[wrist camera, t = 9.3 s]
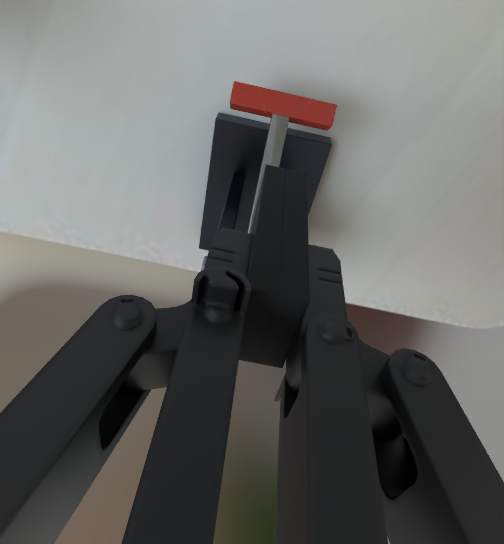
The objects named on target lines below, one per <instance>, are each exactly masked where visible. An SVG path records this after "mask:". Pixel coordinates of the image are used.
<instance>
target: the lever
mask: <svg viewBox="0 0 504 544" xmlns="http://www.w3.org/2000/svg"><path fill="white" fill-rule="evenodd" d="M336 107H337V105H335V104H331V103H326V102H322V101H318V100H313V99H309V98H305V97H301V96H296V95H292V94H288V93H283V92H279V91H275V90H270V89H266V88H262V87H257V86H253V85H249V84H244V83H240V82H236V81H234V84H233V89H232V94H231V99H230V108H231V109H234V110H239V111H243V112H248V113H252V114H256V115H261V116H265V117H269V118H271V121H270V126H269V131H268V135H267V140H266V145H265V150H264V155H263V159H262V164H261V169H260V174H259V179H258V183H257V188H256V193H255V198H254V203H253V207H252V212H251V217H250V222H249V227H248V231H247V233H251V227H252V223H253V218H254V214H255V210H256V205H257V201H258V197H259V192H260V188H261V183H262V179H263V175H264V170H265V166H266V164H267V165H272V166H276V167H279V164H280V160H281V155H282V150H283V146H284V141H285V136H286V132H287V127H288V122H291V123H296V124H300V125H305V126H309V127H313V128H318V129H322V130H328V129H329V128H330V127H332V124H333V120H334V115H335V111H336Z"/></svg>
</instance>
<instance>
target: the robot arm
mask: <svg viewBox="0 0 504 544" xmlns="http://www.w3.org/2000/svg"><path fill="white" fill-rule="evenodd" d="M341 273H342V272H341V264H340V260H339V259H338V257H337V256H336V254H335V252H334V251H333V249H328V248H323V247H319V246H314V245H309V244H308V215H307V177H306V173H303V172H299V171H294V170H290V169H285V168H281V167H276V166H272V165H267V164H266V166H265V170H264V175H263V179H262V183H261V188H260V192H259V197H258V201H257V205H256V210H255V214H254V218H253V223H252V227H251V233H247V232H243V231H238V230H233V229H228V228H224V227H223V228H221V229H220V230H219V231H218V232H217V233H216V234H215V235H214V236H213V239H212V242H211V246H210V249H209V253H208V257H207V260H206V263H205V267H204V270H202V271H201V272H199V273H198V275H197V276H196V278H195V279H194V286H193V294H192V299H191V300H190V301H189V302H187V303H186V304H183V305H180V306H178V307H172V308H161V309H160V308H159V309H155V308H154V306H153V305H152V303H151V302H149V301H147V300H146V299H144V298H143V297H138V296H134V295H121V296H118V297H115V298H112V299H109V300H108V301H107V302H105V303H104V304H103V305H101V306H100V307H99V308H98V309H97V310H96V311H95V313H94V314H93V315H92V316H91V317H90V318H89V319H88V320H87V321H86V322H85V323H84V324H83V325H82V326H81V327H80V329H79V330H78V331H77V332H76V333H75V334H74V335H73V336H72V337H71V338H70V339H69V340H68V341H67V342H66V343H65V345H64V346H63V347H62V348H61V349H60V350H59V351H58V352H57V353H56V354H55V355H54V356H53V357H52V358H51V360H50V361H49V362H48V363H47V364H46V365H45V366H44V367H43V368H42V369H41V370H40V371H39V372H38V373H37V374H36V375H35V377H34V378H33V379H32V380H31V381H30V382H29V383H28V384H27V385H26V386H25V387H24V388H23V389H22V391H20V393H19V394H18V395H17V396H16V397H15V398H14V399H13V400H12V401H11V402H10V403H9V404H8V405H7V406H6V407H5V409H4V410H3V411H2V412H1V413H0V544H54V543H55V541H56V540H57V538H58V537H59V535H60V533H61V532H62V530H63V529H64V527H65V525H66V524H67V522H68V521H69V519H70V518H71V516H72V514H73V513H74V511H75V510H76V508H77V507H78V505H79V503H80V502H81V500H82V499H83V497H84V495H85V494H86V492H87V491H88V489H89V488H90V486H91V484H92V483H93V481H94V480H95V478H96V477H97V475H98V473H99V472H100V470H101V469H102V467H103V465H104V464H105V462H106V461H107V459H108V458H109V456H110V454H111V453H112V451H113V450H114V448H115V446H116V445H117V443H118V442H119V440H120V439H121V437H122V435H123V434H124V432H125V431H126V429H127V428H128V426H129V424H130V423H131V421H132V419H133V418H134V416H135V415H136V413H137V412H138V410H139V408H140V407H141V405H142V404H143V402H144V401H145V399H146V398H147V396H148V394H149V393H150V391H151V389H156V388H164V387H167V389H166V393H165V396H164V399H163V403H162V406H161V410H160V414H159V417H158V420H157V424H156V427H155V430H154V434H153V437H152V441H151V445H150V448H149V451H148V455H147V458H146V462H145V465H144V468H143V472H142V475H141V479H140V482H139V486H138V489H137V492H136V496H135V499H134V503H133V506H132V510H131V513H130V517H129V520H128V524H127V527H126V530H125V534H124V537H123V541H122V544H213V538H214V530H215V523H216V516H217V510H218V502H219V495H220V488H221V481H222V474H223V466H224V460H225V452H226V445H227V439H228V431H229V424H230V417H231V410H232V403H233V396H234V389H235V381H236V374H237V367H238V361H239V360H243V361H248V362H254V363H259V364H263V365H268V366H274V367H279V368H283V365H284V362H285V360H286V373H285V376H284V378H283V380H282V383H281V385H280V387H279V390H278V392H277V394H276V398H275V401H279V400H280V397H281V401H280V424H279V445H278V468H277V489H276V490H277V491H276V512H275V534H274V544H388V539H389V542H390V544H504V482H503V480H502V478H501V477H500V475H499V473H498V471H497V470H496V468H495V466H494V464H493V463H492V461H491V459H490V457H489V455H488V454H487V452H486V450H485V448H484V447H483V445H482V443H481V441H480V440H479V438H478V436H477V434H476V432H475V431H474V429H473V427H472V426H471V424H470V422H469V420H468V418H467V417H466V415H465V413H464V411H463V410H462V408H461V406H460V404H459V402H458V401H457V399H456V397H455V395H454V394H453V392H452V390H451V388H450V387H449V385H448V383H447V381H446V380H445V378H444V376H443V374H442V372H441V371H440V370H439V368H438V367H437V366H436V364H435V363H434V362H433V361H431V360H430V359H429V358H428V357H427V356H425V355H424V354H422V353H419V352H417V351H415V350H410V349H400V350H396V351H395V352H394V353H393V354H392V355H391V356H389V355H387V354H385V353H383V352H381V351H379V350H376V349H375V348H372V347H371V346H369V345H367V344H365V343H364V342H363V341H361V340H360V339H359V337H358V334H357V331H356V329H355V328H354V327H353V326H352V325H351V323H350V322H349V321H348V320H347V313H346V306H345V297H344V289H343V285H342V283H343V280H342V275H341ZM387 536H388V539H387Z"/></svg>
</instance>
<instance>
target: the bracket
mask: <svg viewBox="0 0 504 544" xmlns="http://www.w3.org/2000/svg"><path fill="white" fill-rule="evenodd" d="M269 126H270V124H267V123H262V122H258V121H253V120H249V119H245V118H240V117H236V116H231V115H227V114H223V113H218V115H217V117H216V120H215V128H214V136H213V143H212V151H211V159H210V167H209V174H208V182H207V190H206V197H205V205H204V213H203V221H202V228H201V236H200V244H199V248H200V249H204V250H209V249H210V246H211V242H212V239H213V236H214V235H215V234H216V233H217V232H218V231H219V230H220V229H221V228H223V227H224V228H228V229H233V230H238V231H243V232H247V231H248V227H249V222H250V217H251V212H252V207H253V203H254V198H255V193H256V188H257V183H258V179H259V174H260V169H261V164H262V159H263V155H264V150H265V145H266V140H267V135H268V131H269ZM331 146H332V144H331V138H328V137H324V136H320V135H315V134H311V133H306V132H302V131H298V130H293V129H289V128H287V132H286V136H285V141H284V146H283V150H282V155H281V160H280V164H279V167H281V168H285V169H290V170H294V171H299V172H303V173H306V177H307V215H308V214H309V211H310V208H311V205H312V202H313V199H314V197H315V194H316V191H317V188H318V185H319V182H320V179H321V176H322V173H323V170H324V167H325V164H326V161H327V158H328V155H329V152H330V149H331ZM206 260H207V256H205V257H204V260H203V264H202V269H201V271H202V270H204V267H205V263H206Z"/></svg>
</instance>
